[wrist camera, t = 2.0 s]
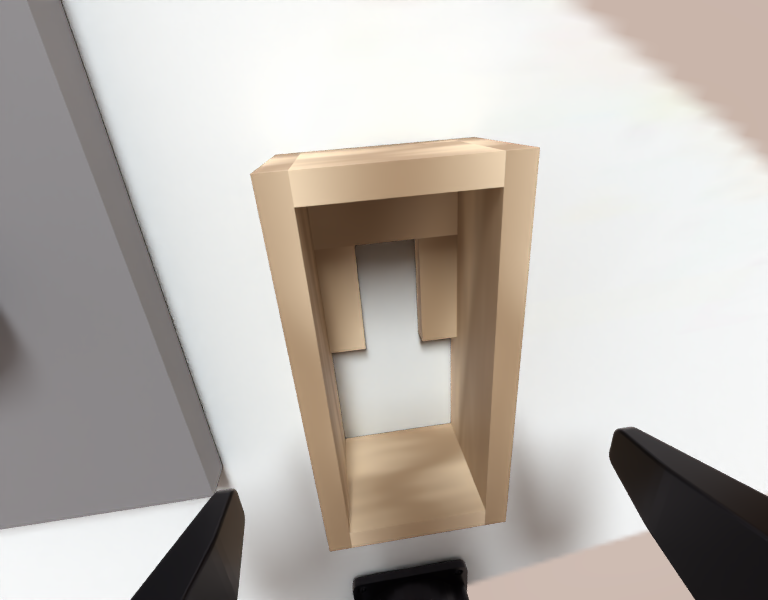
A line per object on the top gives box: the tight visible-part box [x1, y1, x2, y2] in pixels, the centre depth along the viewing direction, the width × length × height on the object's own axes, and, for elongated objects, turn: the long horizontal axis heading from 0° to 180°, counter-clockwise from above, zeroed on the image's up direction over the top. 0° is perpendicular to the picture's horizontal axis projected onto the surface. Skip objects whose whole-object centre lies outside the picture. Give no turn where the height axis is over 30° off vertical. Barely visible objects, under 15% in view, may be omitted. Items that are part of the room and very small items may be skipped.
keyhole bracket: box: [250, 137, 540, 551], centre depth 14 cm, size 6×13×4 cm, turn 4°
